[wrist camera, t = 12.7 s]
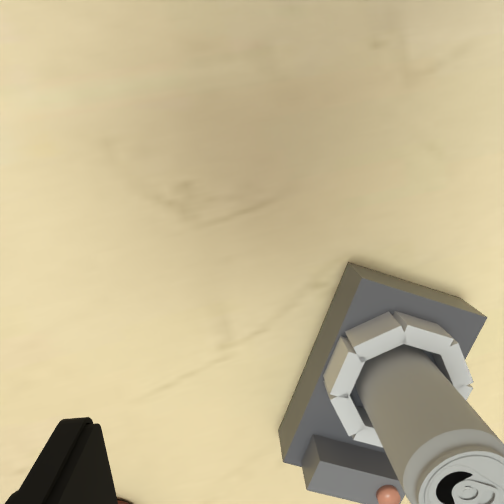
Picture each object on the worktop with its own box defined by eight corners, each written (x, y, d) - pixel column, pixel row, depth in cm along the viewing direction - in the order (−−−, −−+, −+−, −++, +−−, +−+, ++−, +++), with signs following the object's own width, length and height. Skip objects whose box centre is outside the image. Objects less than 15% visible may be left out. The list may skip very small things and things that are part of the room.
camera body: (348, 262, 36) (377, 295, 28) (460, 298, 37) (516, 338, 30) (278, 430, 40) (288, 496, 33) (381, 457, 41) (412, 526, 34)
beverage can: (370, 329, 33) (443, 434, 21) (442, 350, 34) (549, 463, 22) (340, 395, 35) (393, 525, 23) (409, 414, 35) (493, 549, 24)
